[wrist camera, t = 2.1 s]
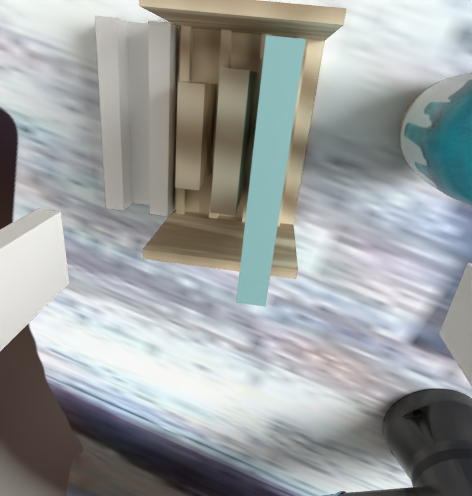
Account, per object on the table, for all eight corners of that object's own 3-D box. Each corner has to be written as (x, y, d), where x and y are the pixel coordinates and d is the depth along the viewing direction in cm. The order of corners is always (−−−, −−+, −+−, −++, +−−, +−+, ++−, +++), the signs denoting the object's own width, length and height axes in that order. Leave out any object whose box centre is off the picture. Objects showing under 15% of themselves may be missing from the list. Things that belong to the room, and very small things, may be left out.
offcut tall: (243, 190, 45) (235, 215, 37) (222, 188, 45) (210, 212, 37) (255, 72, 39) (249, 70, 31) (232, 69, 39) (220, 67, 31)
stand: (175, 205, 48) (167, 216, 45) (118, 198, 49) (105, 208, 45) (180, 28, 40) (170, 23, 36) (111, 21, 40) (94, 15, 37)
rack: (291, 227, 48) (296, 278, 35) (177, 213, 49) (142, 258, 36) (324, 31, 38) (346, 8, 26) (182, 17, 39) (138, -11, 27)
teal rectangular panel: (271, 206, 45) (265, 306, 25) (255, 204, 45) (236, 302, 25) (291, 59, 38) (305, 38, 19) (272, 57, 39) (265, 35, 19)
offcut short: (210, 174, 44) (199, 190, 38) (190, 172, 45) (175, 187, 38) (216, 83, 40) (204, 84, 34) (193, 81, 40) (177, 81, 34)
